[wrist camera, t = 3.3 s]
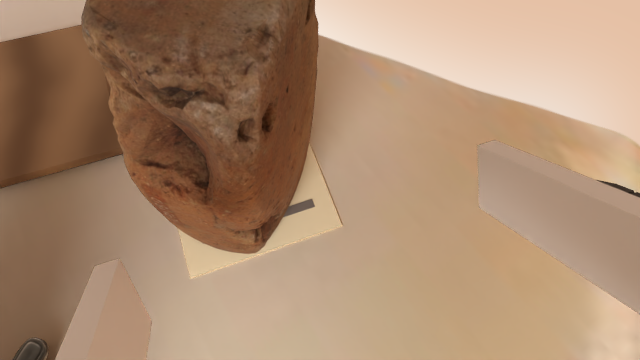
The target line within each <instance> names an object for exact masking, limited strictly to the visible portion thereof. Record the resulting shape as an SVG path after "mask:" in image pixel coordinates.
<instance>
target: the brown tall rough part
mask: <svg viewBox="0 0 640 360" xmlns="http://www.w3.org/2000/svg"><path fill="white" fill-rule="evenodd" d="M82 34H83V39H84V40H85V42H86V44H87V46H88V49H89V52H90V55H92V56H93V57H94V58H95V59H96V60H98V61H99V62H100V64H101V66H102V69H103V71H104V73H105V76H106V78H107V80H108V82H109V85H110V87H111V88H110V97H109V100H108V104H109V108H110V111H111V112H112V114H113V116H114V120H113V125H114V127H115V130H116V132H117V134H118V142H119V144H120V146H121V149H122V151H123V155H124V162H125V165H126V167H127V170H128V172H129V174H130V176H131V178H132V180H133V181H134V183H135V184H136V185H137V187H138V188H139V190H140V191H141V193H142V194H143V195H144V196H145V197H146V198H147V200H148V201H149V202H150V203H151V204H152V205H153V206H154V207H155V208H156V209H157V210H158V211H159V212H161V213H162V214H163V215H164V216H165V217H166V218H167V219H168V220H169V221H170V222H171V223H172V224H174V225H175V226H176V227H177V228H178V229H180V230H181V231H182V232H184V233H185V234H187V235H189V236H190V237H192V238H194V239H196V240H198V241H200V242H202V243H204V244H206V245H209V246H211V247H214V248H216V249H220V250H224V251H228V252H234V253H242V254H252V253H257V252H258V251H259V250H261V249H262V248H263V247H264V246H265V244H266V242H267V240H268V239H269V238H270V237H271V235H272V234H273V232H274V231H275V229H276V228H277V226H278V225H279V223H280V221H281V220H282V218H283V216H284V214H285V212H286V210H287V209H288V207H289V205H290V203H291V201H292V199H293V196H294V194H295V192H296V189H297V186H298V183H299V181H300V178H301V175H302V172H303V168H304V164H305V160H306V156H307V151H308V146H309V139H310V132H311V125H312V118H313V109H314V98H315V89H316V76H317V53H318V21H317V18H316V15H315V0H87V1H86V4H85V7H84V10H83V14H82Z"/></svg>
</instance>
